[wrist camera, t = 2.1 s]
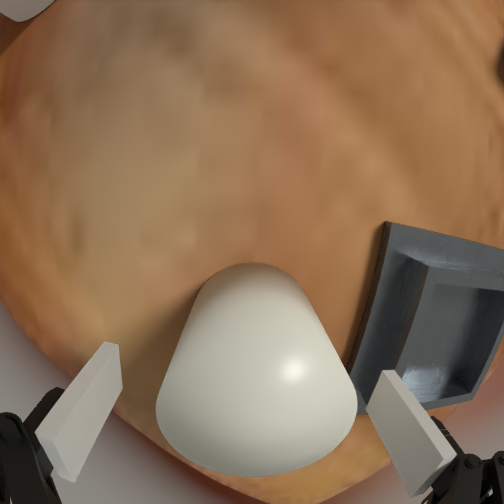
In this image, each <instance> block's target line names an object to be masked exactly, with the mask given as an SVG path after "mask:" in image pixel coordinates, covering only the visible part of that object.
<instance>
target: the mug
mask: <svg viewBox="0 0 504 504" xmlns="http://www.w3.org/2000/svg"><path fill="white" fill-rule="evenodd" d="M54 1H55V0H0V13H2V14H4V15H5V16H7V17H9V18H10V19H12V20H14V21H16V22H22V21H25V20H28V19H30V18H32V17H34V16H36V15H37V14H39V13H40V12H42V11H43V10H44V9H46V8H47V7H48V6H49V5H51V4H52V3H53V2H54Z"/></svg>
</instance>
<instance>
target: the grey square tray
mask: <svg viewBox="0 0 504 504" xmlns="http://www.w3.org/2000/svg"><path fill="white" fill-rule="evenodd" d="M503 335H504V250H503V249H499V248H496V247H492V246H488V245H485V244H481V243H477V242H473V241H470V240H466V239H462V238H458V237H454V236H450V235H446V234H442V233H437V232H433V231H429V230H425V229H420V228H416V227H411V226H407V225H402V224H397V223H393V222H388V221H385V225H384V231H383V236H382V241H381V246H380V250H379V255H378V259H377V264H376V268H375V272H374V277H373V281H372V285H371V289H370V292H369V296H368V300H367V304H366V307H365V311H364V314H363V318H362V321H361V324H360V328H359V331H358V334H357V337H356V341H355V344H354V347H353V350H352V353H351V356H350V359H349V362H348V365H347V367H346V372H347V374H348V375H349V377H350V379H351V381H352V383H353V386H354V388H355V391H356V395H357V401H358V402H357V413H356V415H358V414H368V413H367V411H366V407H367V405H368V403H369V401H370V398H371V396H372V394H373V392H374V389H375V387H376V385H377V382H378V380H379V377H380V375H381V372H382V370H395V372H396V373H397V374H398V376H399V377H400V378H401V379H402V381H403V382H404V383H405V385H406V386H407V387H408V388H409V390H410V391H411V392H412V394H413V395H414V396H415V398H416V399H417V400H418V402H419V403H420V404H421V406H422V407H423V408H424V410H428V409H433V408H439V407H443V406H448V405H453V404H457V403H461V402H465V401H469V400H472V399H473V398H474V396H475V394H476V392H477V391H478V389H479V387H480V385H481V383H482V381H483V379H484V377H485V375H486V373H487V371H488V369H489V367H490V365H491V363H492V361H493V359H494V356H495V354H496V352H497V350H498V347H499V345H500V343H501V340H502V338H503Z"/></svg>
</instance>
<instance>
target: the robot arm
mask: <svg viewBox="0 0 504 504" xmlns="http://www.w3.org/2000/svg"><path fill="white" fill-rule="evenodd" d="M122 389H123V385H122V377H121V367H120V356H119V345H118V344H113V343H109V342H105V341H104V343H103V344H102V345H101V346H100V348H99V349H98V350H97V351H96V352H95V354H94V355H93V356H92V357H91V359H90V360H89V361H88V362H87V364H86V365H85V366H84V367H83V369H82V370H81V371H80V372H79V374H78V375H77V376H76V377H75V379H74V380H73V382H72V383H71V384H70V385H69V387H68V388H67V389H66V390H64V389H61V388H58V387H56V388H54V389H52V390H50V391H49V392H48V393H46V395H45V396H44V397H43V398H42V401H40V402H39V403H38V404H37V407H35V408H34V409H33V411H32V412H31V413H30V415H29V416H28V417H27V418H26V420H25V421H24V422H23V423H22V421H21V419H20V418H19V417H18V416H17V415H16V414H13V413H9V412H4V413H0V504H10V497H11V501H12V504H62V503H61V500H60V498H59V495H58V493H57V490H56V487H55V485H54V482H53V479H52V477H51V475H50V474H51V472H52V470H53V468H54V470H55V472H56V473H57V475H58V476H59V477H62V478H64V479H66V480H68V481H71V482H73V483H75V482H76V480H77V478H78V476H79V473H80V471H81V469H82V467H83V465H84V463H85V461H86V459H87V457H88V455H89V453H90V451H91V449H92V447H93V445H94V442H95V441H96V438H97V437H98V435H99V433H100V431H101V429H102V427H103V425H104V423H105V421H106V419H107V417H108V415H109V413H110V411H111V410H112V408H113V406H114V404H115V402H116V400H117V398H118V396H119V395H120V393H121V391H122ZM366 411H367V413H368V415H369V417H370V419H371V421H372V423H373V425H374V427H375V429H376V431H377V433H378V434H379V436H380V438H381V440H382V442H383V444H384V446H385V448H386V450H387V452H388V454H389V456H390V458H391V460H392V462H393V464H394V466H395V468H396V470H397V472H398V474H399V476H400V478H401V480H402V482H403V484H404V486H405V488H406V490H407V492H408V494H409V496H410V498H411V497H414V496H417V495H420V494H423V493H424V492H425V491H426V490H427V489H428V488H429V487H430V486H431V487H432V488H433V491H432V492H431V493H430V494H429V495H428V496H427V497H426V498H425V499H424V500H423V501H422V503H421V504H424V503H425V502H426V501H427V500H428V502H427V504H504V451H498V452H497V453H495V455H494V456H493V457H492V458H491V459H488V460H481V459H480V458H479V457H478V456H476V455H474V454H464V452H463V451H462V449H461V448H460V447H459V446H458V444H457V443H456V441H455V440H454V439H453V437H452V436H451V435H450V433H449V432H448V431H447V430H446V428H445V427H444V425H443V424H442V423H441V422H440V421H439V420H438V419H436V418H435V417H434V416H431V417H430V416H429V415H428V414H427V412H426V411H425V410H424V408H423V407H422V406H421V404H420V403H419V402H418V400H417V399H416V398H415V396H414V395H413V394H412V392H411V391H410V390H409V388H408V387H407V386H406V385H405V383H404V382H403V381H402V379H401V378H400V377H399V376H398V374H397V373H396V372H395V370H382V372H381V375H380V377H379V380H378V382H377V385H376V387H375V389H374V392H373V394H372V396H371V398H370V401H369V403H368V405H367V407H366ZM491 489H492V490H493V494H492V495H491V496H489V493H488V492H489V491H490V490H491Z"/></svg>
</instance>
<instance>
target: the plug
mask: <svg viewBox="0 0 504 504" xmlns="http://www.w3.org/2000/svg"><path fill="white" fill-rule="evenodd" d="M357 402H358V401H357V395H356V391H355V388H354V386H353V383H352V381H351V379H350V377H349V375H348V374H347V372H346V370H345V368H344V366H343V364H342V362H341V360H340V358H339V356H338V354H337V352H336V351H335V349H334V347H333V345H332V343H331V341H330V339H329V337H328V335H327V334H326V332H325V330H324V328H323V326H322V324H321V322H320V320H319V319H318V317H317V315H316V313H315V311H314V309H313V307H312V306H311V304H310V302H309V300H308V298H307V296H306V295H305V293H304V291H303V289H302V288H301V286H300V285H299V284H298V283H297V281H296V280H295V279H294V278H293V277H291V276H290V275H289V274H287V273H286V272H284V271H283V270H281V269H279V268H277V267H274V266H271V265H268V264H263V263H253V262H251V263H241V264H236V265H233V266H229V267H227V268H225V269H223V270H221V271H219V272H217V273H216V274H214V275H213V276H212V277H211V278H210V279H208V281H207V282H206V283H205V284H204V285H203V286H202V288H201V289H200V291H199V293H198V295H197V297H196V299H195V302H194V304H193V307H192V309H191V312H190V314H189V317H188V319H187V322H186V324H185V327H184V329H183V332H182V334H181V337H180V339H179V342H178V344H177V347H176V349H175V352H174V354H173V357H172V360H171V362H170V365H169V367H168V370H167V373H166V375H165V378H164V380H163V383H162V386H161V388H160V391H159V394H158V397H157V401H156V418H157V423H158V425H159V428H160V431H161V432H162V434H163V436H164V438H165V439H166V440H167V441H168V443H169V444H170V445H171V446H172V447H173V448H174V449H175V450H176V451H177V452H178V453H180V454H181V455H182V456H184V457H185V458H186V459H188V460H190V461H191V462H193V463H195V464H197V465H199V466H201V467H203V468H206V469H209V470H212V471H215V472H219V473H222V474H227V475H233V476H242V477H264V476H273V475H279V474H284V473H288V472H291V471H295V470H298V469H300V468H303V467H305V466H308V465H310V464H312V463H314V462H316V461H318V460H319V459H321V458H322V457H324V456H326V455H327V454H328V453H330V452H331V451H332V450H333V449H335V448H336V447H337V446H338V445H339V444H340V443H341V442H342V440H343V439H344V438H345V437H346V435H347V434H348V432H349V431H350V429H351V427H352V425H353V423H354V420H355V417H356V413H357Z"/></svg>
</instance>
